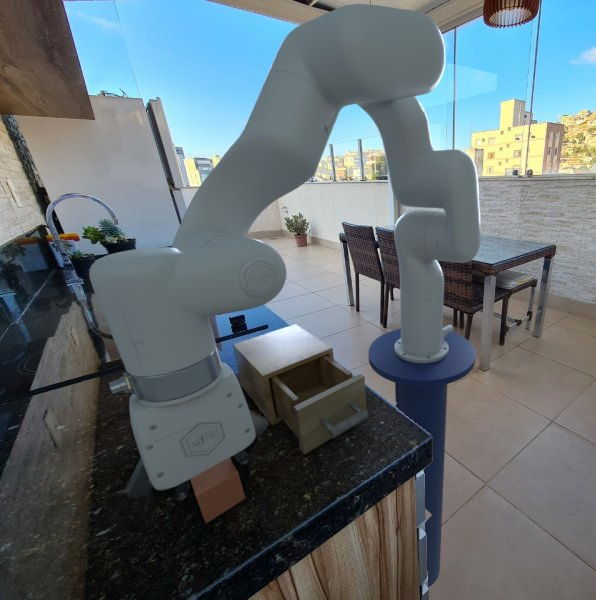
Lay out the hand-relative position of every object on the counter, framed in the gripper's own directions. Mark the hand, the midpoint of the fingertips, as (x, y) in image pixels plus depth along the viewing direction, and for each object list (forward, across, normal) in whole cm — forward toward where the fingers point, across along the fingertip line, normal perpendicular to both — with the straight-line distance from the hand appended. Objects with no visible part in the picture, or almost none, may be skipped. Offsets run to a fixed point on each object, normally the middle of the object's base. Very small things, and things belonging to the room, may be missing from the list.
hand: (220, 496), depth 39 cm
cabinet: (+2, +16, +17) cm, 24 cm away
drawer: (+1, +16, +4) cm, 17 cm away
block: (0, 0, 0) cm, 0 cm away
